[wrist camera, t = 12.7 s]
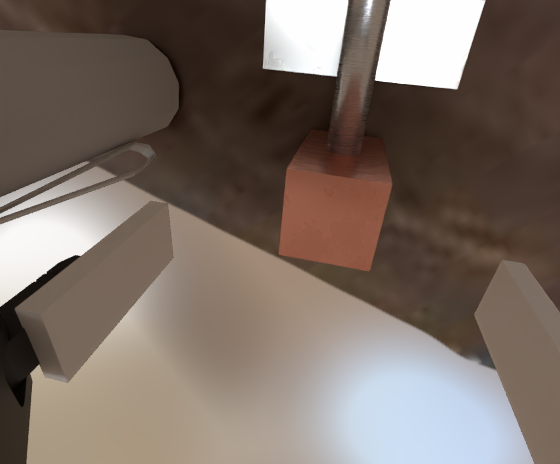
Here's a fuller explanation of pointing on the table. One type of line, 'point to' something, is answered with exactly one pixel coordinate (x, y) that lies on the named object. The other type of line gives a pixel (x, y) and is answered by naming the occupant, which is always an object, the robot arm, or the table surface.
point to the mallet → (342, 159)
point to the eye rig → (396, 43)
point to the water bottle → (76, 106)
